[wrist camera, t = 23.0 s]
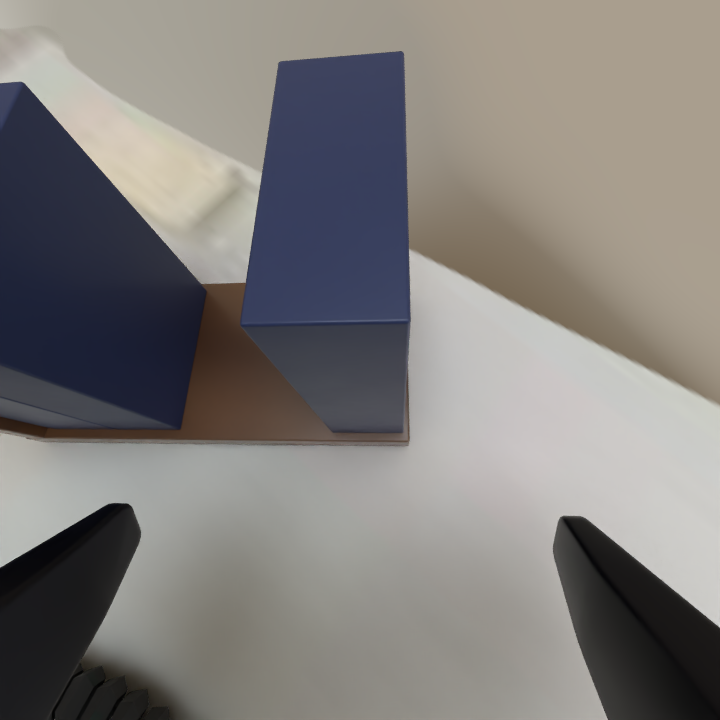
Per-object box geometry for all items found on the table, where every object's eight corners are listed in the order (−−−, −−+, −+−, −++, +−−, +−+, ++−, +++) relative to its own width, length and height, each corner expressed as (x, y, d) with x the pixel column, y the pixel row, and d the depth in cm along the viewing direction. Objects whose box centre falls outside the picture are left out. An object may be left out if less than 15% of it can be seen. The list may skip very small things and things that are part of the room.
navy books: (181, 430, 18) (-99, 329, 8) (53, 429, 19) (-361, 334, 9) (207, 290, 21) (22, 79, 11) (94, 293, 21) (-183, 97, 11)
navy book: (403, 433, 17) (410, 322, 7) (331, 432, 17) (237, 325, 7) (401, 286, 20) (403, 49, 10) (338, 287, 20) (278, 60, 10)
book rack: (408, 446, 18) (423, 362, 8) (44, 442, 20) (-345, 369, 9) (405, 289, 21) (413, 76, 11) (89, 298, 23) (-170, 121, 12)
